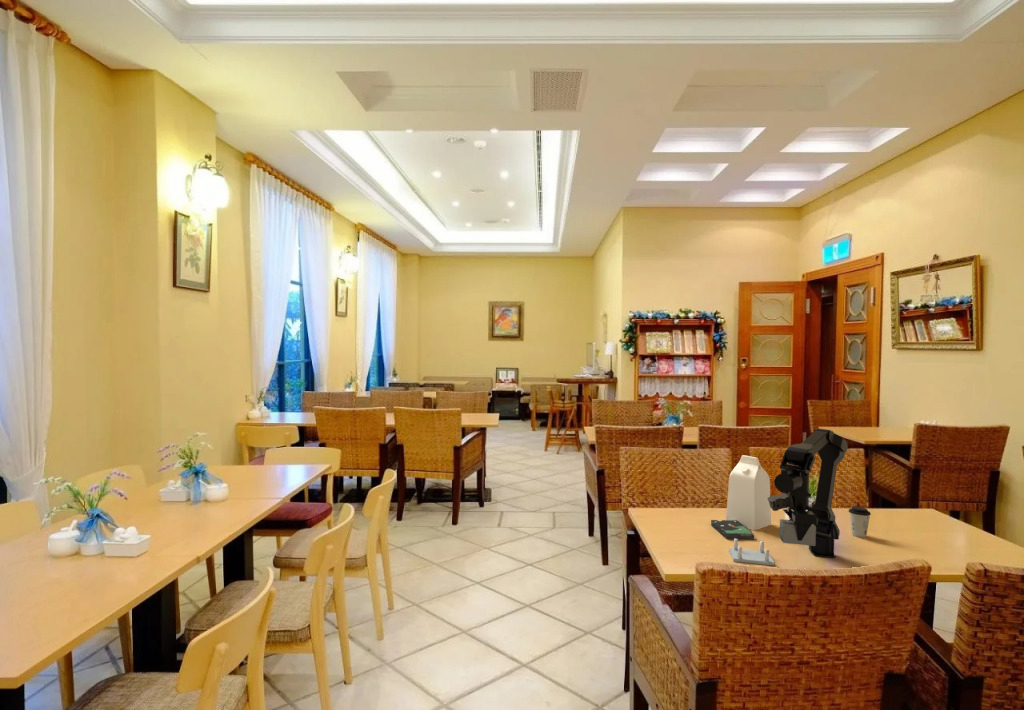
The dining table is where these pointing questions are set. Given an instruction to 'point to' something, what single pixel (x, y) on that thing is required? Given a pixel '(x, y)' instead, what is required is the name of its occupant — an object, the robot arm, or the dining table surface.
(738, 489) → the milk
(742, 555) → the tray
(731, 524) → the disk drive
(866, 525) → the coffee cup
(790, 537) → the block
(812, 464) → the robot arm
